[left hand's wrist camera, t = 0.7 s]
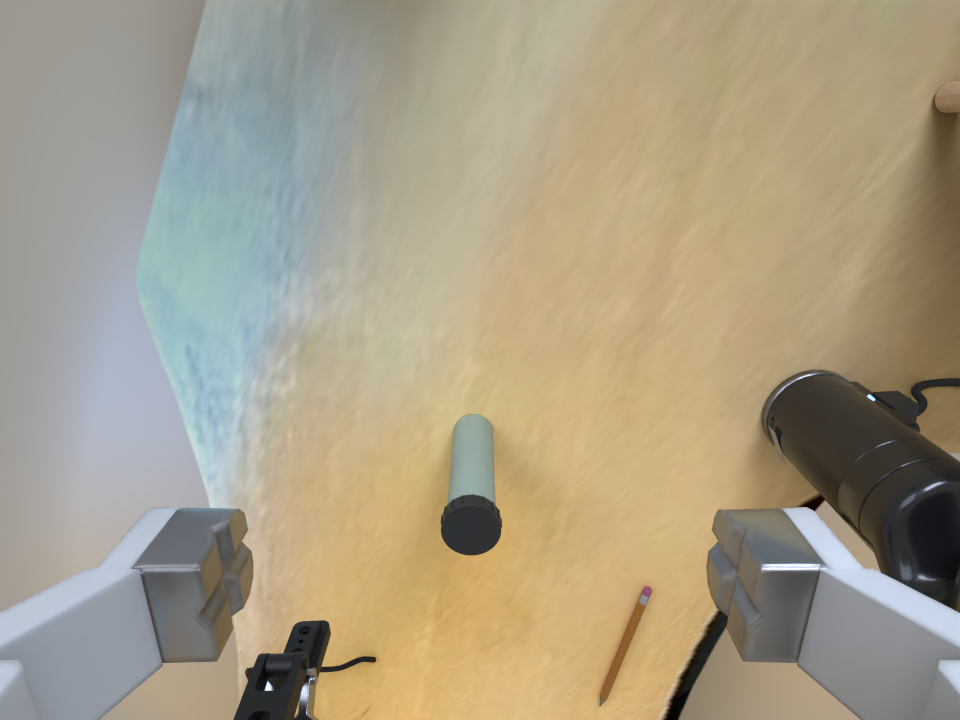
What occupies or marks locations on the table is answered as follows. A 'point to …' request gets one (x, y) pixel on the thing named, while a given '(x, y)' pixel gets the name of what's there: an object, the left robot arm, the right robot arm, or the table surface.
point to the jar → (472, 459)
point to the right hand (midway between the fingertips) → (324, 676)
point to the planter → (948, 98)
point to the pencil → (625, 643)
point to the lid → (471, 524)
